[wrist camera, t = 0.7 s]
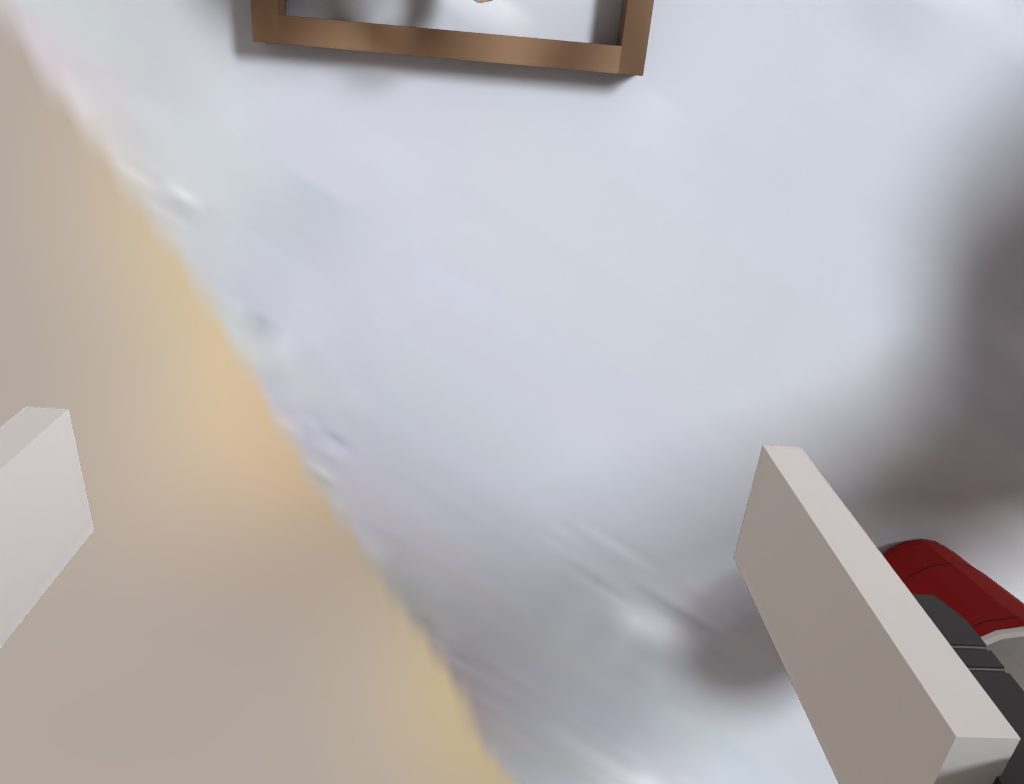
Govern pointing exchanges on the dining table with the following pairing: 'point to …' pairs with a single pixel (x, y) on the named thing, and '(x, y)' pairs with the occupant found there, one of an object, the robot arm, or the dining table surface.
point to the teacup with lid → (481, 1)
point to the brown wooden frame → (461, 40)
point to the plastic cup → (965, 597)
